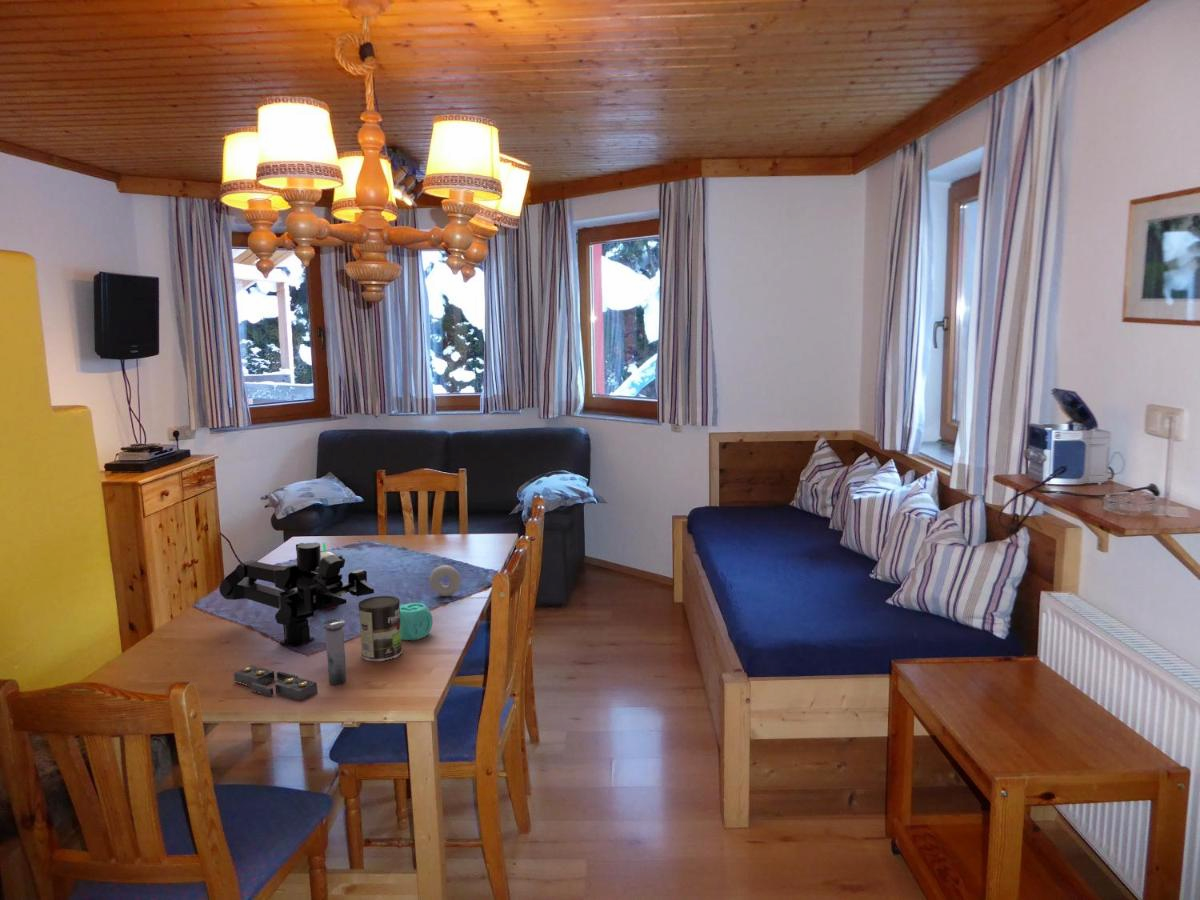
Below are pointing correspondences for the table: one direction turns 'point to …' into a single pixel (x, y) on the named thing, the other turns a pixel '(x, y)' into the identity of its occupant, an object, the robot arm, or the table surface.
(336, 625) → the link pin
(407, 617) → the teal rolled towel
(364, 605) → the coffee can
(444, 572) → the donut
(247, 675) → the riveted post bracket
